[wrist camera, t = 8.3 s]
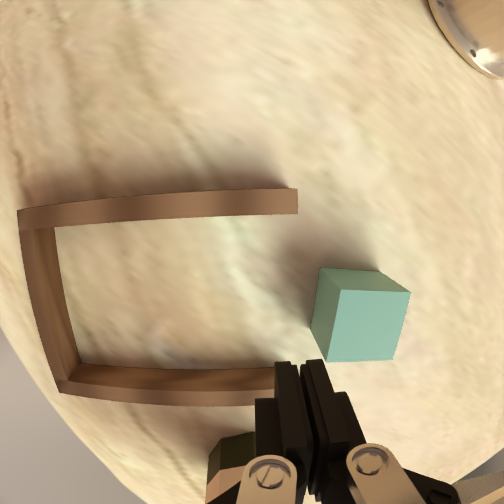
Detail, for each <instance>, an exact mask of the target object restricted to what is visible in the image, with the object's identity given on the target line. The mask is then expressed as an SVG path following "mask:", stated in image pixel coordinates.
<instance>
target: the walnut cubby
mask: <svg viewBox="0 0 504 504" xmlns="http://www.w3.org/2000/svg"><path fill="white" fill-rule="evenodd" d="M272 214H298V195H297V189H292V188H274V189H236V190H212V191H193V192H177V193H162V194H149V195H137V196H125V197H115V198H105V199H95V200H86V201H77V202H69V203H61V204H53V205H46V206H39V207H33V208H27V209H22V210H17V217H18V227H19V236H20V244H21V251H22V258H23V264H24V270H25V275H26V280H27V285H28V290H29V295H30V299H31V304H32V308H33V312H34V316H35V320H36V324H37V327H38V331H39V334H40V338H41V341H42V345H43V348H44V351H45V354H46V357H47V360H48V363H49V366H50V369H51V372H52V375H53V377H54V380H55V383H56V385H57V388H58V390H59V393H64V394H70V395H75V396H82V397H88V398H95V399H103V400H111V401H119V402H129V403H141V404H154V405H172V406H249V405H255V398H274V373H275V367H270V368H252V369H220V370H179V369H148V368H130V367H116V366H104V365H93V364H84V363H81V360H80V357H79V353H78V350H77V346H76V343H75V339H74V335H73V331H72V327H71V323H70V319H69V315H68V310H67V306H66V301H65V296H64V291H63V286H62V280H61V274H60V268H59V262H58V255H57V248H56V240H55V231H54V227H61V226H73V225H85V224H97V223H110V222H124V221H139V220H155V219H173V218H192V217H214V216H239V215H272Z"/></svg>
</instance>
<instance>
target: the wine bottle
mask: <svg viewBox="0 0 504 504" xmlns="http://www.w3.org/2000/svg"><path fill="white" fill-rule="evenodd" d="M255 458H256V432H249V433H245V434H241V435H236V436H232V437H227V438H222V439H221V440H220V441H219V442H218V444H217V445H216V447H215V448H214V449H213V451H212V452H211V454H210V455H209V461H208V473H207V486H206V500H205V504H207V503H208V502H210V501H212V500H213V499H215V498H216V497H218V496H219V495H221V494H222V493H224V492H225V491H227V490H228V489H229V488H231V487H232V486H234V485H235V484H237V483H238V482H239V481H241V480H242V475H243V471H244V469H245V467H246V465H247V464H248V463H249V462H250V461H251V460H253V459H255Z"/></svg>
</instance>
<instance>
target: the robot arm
mask: <svg viewBox="0 0 504 504" xmlns="http://www.w3.org/2000/svg"><path fill="white" fill-rule="evenodd" d="M428 2H429V6H430V9H431V11H432V13H433V16H434V18H435V20H436V22H437V24H438V25H439V27H440V29H441V30H442V32H443V33H444V35H445V37H446V38H447V39H448V41H449V42H450V43H451V45H452V46H453V47H454V48H455V50H456V51H457V52H458V53H459V54H460V55H461V56H462V57H463V58H464V59H465V60H466V61H467V62H468V63H469V64H470V65H471V66H472V67H474V68H475V69H476V70H478V71H479V72H481V73H482V74H484V75H486V76H488V77H490V78H493V79H504V0H428ZM255 429H256V458H255V459H253V460H251V461H250V462H249V463H248V464H247V465H246V467H245V469H244V471H243V475H242V480H241V481H239V482H238V483H237V484H235V485H234V486H232V487H231V488H229V489H228V490H227V491H225V492H224V493H222V494H221V495H219V496H218V497H216V498H215V499H213V500H212V501H210V502H208V503H207V504H303V499H304V495H305V492H306V487H308V492H309V495H313V494H315V500H316V502H319V501H321V503H322V504H504V471H500V472H496V473H492V474H488V475H485V476H481V477H477V478H472V479H468V480H463V481H458V482H456V483H455V485H450V484H448V483H445V482H442V481H439V480H436V479H433V478H430V477H427V476H424V475H421V474H418V473H415V472H412V471H410V470H407V469H404V468H402V467H401V465H400V464H399V463H398V461H397V460H396V458H395V457H394V455H393V454H392V452H391V451H390V450H389V449H388V448H386V447H384V446H382V445H379V444H373V443H366V440H365V438H364V435H363V432H362V430H361V427H360V425H359V422H358V420H357V417H356V415H355V412H354V410H353V407H352V405H351V402H350V400H349V397H348V395H347V393H346V392H345V391H344V392H336V393H334V390H333V387H332V384H331V382H330V379H329V376H328V373H327V371H326V368H325V365H324V362H323V360H322V359H314V360H306V364H301V366H300V377H299V373H298V369H297V365H291V362H290V361H284V362H275V373H274V398H255Z"/></svg>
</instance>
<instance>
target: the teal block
mask: <svg viewBox="0 0 504 504" xmlns="http://www.w3.org/2000/svg"><path fill="white" fill-rule="evenodd" d="M410 293H411V292H410V291H408V290H407V289H405V288H404V287H402V286H401V285H399V284H398V283H396V282H395V281H393V280H392V279H390V278H389V277H387V276H386V275H384V274H383V273H381V272H379V271H364V270H349V269H334V268H320V272H319V278H318V285H317V291H316V298H315V304H314V310H313V316H312V322H311V328H310V330H311V332H312V334H313V336H314V338H315V340H316V342H317V344H318V346H319V349H320V351H321V353H322V355H323V357H324V359H325V361H326V362H357V361H379V360H393V356H394V353H395V350H396V347H397V343H398V340H399V336H400V333H401V329H402V326H403V322H404V318H405V314H406V310H407V306H408V302H409V298H410Z"/></svg>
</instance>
